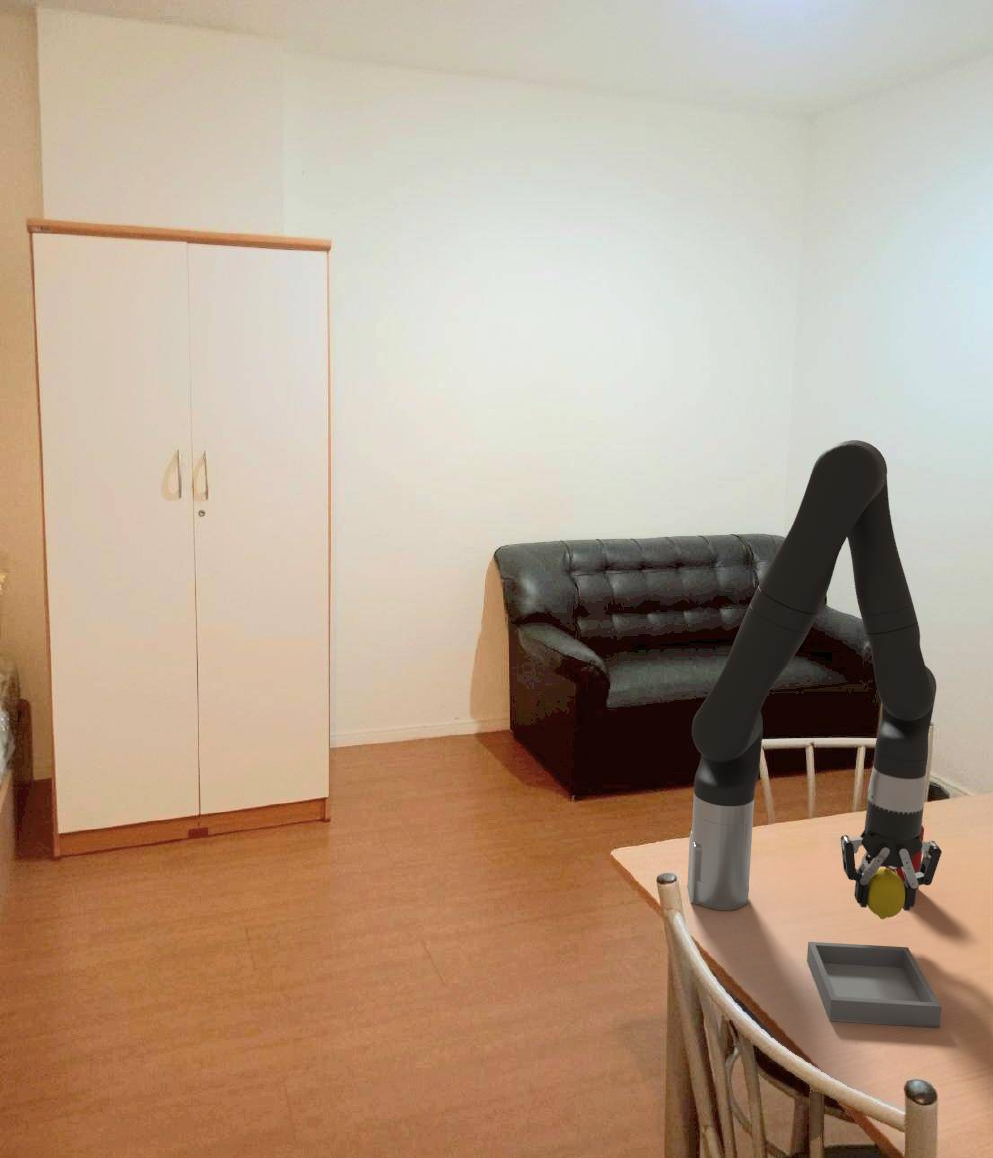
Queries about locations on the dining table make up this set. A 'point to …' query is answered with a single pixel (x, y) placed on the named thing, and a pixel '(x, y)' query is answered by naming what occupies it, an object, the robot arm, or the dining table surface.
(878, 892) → the lemon
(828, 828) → the dining table surface
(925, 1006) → the box
